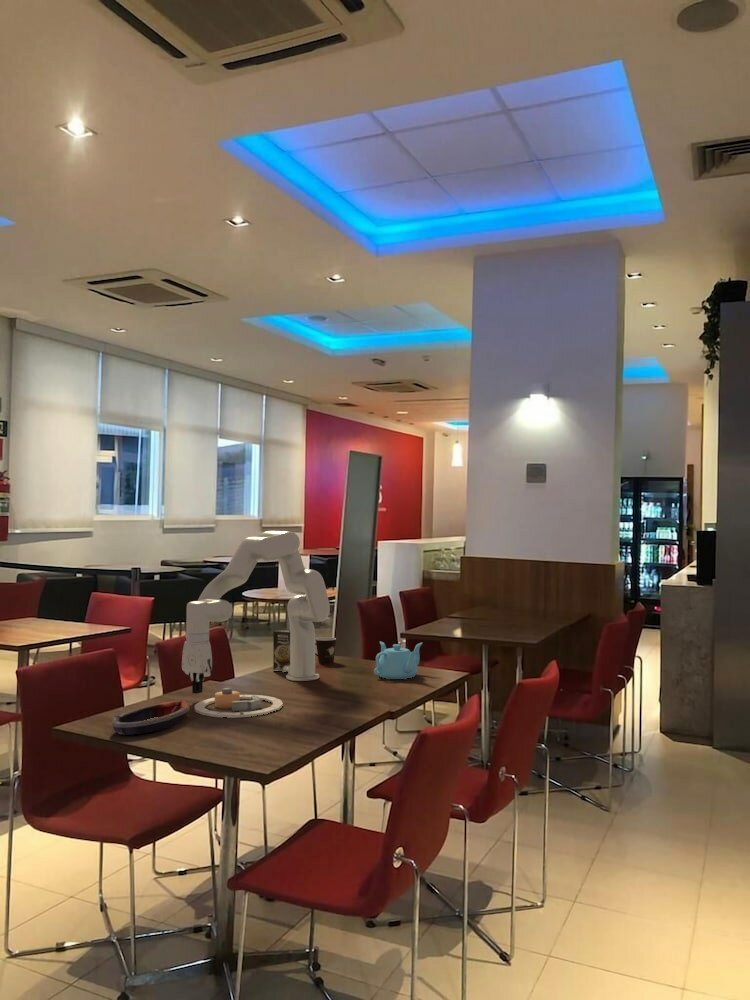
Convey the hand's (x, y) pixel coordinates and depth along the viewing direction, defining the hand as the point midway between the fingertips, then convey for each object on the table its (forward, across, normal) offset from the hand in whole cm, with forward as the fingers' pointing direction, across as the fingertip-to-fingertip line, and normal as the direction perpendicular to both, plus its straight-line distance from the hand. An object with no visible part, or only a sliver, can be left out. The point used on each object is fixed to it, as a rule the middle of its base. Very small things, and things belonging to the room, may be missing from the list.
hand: (197, 692), depth 275 cm
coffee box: (+2, -6, +56) cm, 57 cm away
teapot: (+2, +38, +70) cm, 80 cm away
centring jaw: (+3, +22, 0) cm, 23 cm away
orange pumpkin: (+3, +13, 0) cm, 13 cm away
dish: (+4, +11, -30) cm, 32 cm away
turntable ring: (+3, +18, 0) cm, 18 cm away
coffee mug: (+2, -4, +78) cm, 78 cm away
